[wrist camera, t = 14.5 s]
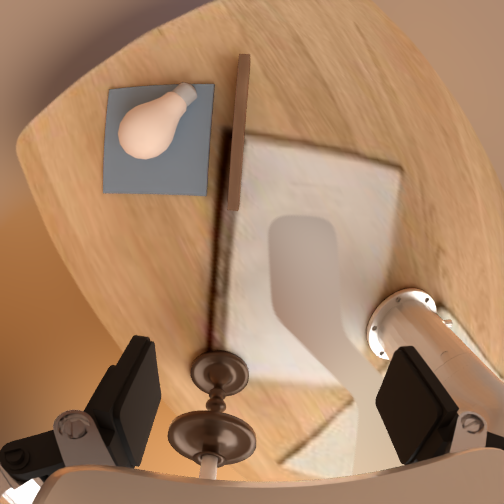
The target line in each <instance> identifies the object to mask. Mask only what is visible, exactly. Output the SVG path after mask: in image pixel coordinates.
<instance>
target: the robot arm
mask: <svg viewBox="0 0 504 504" xmlns="http://www.w3.org/2000/svg"><path fill="white" fill-rule="evenodd" d="M451 327H452V321H451V320H442V319H441V318H440V317H439V316H438V315H437V309H436V305H435V302H434V300H433V299H432V298H431V296H430V295H428V294H427V293H426V292H424V291H423V290H420V289H416V288H408V289H403V290H400V291H398V292H396V293H394V294H392V295H390V296H389V297H388V298H386V299H385V300H384V301H383V302H382V303H381V304H380V305H379V306H378V307H377V309H376V310H375V311H374V313H373V315H372V317H371V318H370V321H369V324H368V327H367V341H368V344H369V346H370V348H371V350H372V351H373V352H374V354H375V355H377V356H378V357H380V358H383V359H389V360H390V361H391V362H390V365H389V367H388V370H387V372H386V375H385V377H384V380H383V383H382V385H381V387H380V390H379V392H378V394H377V397H376V407H377V409H378V411H379V413H380V415H381V418H382V420H383V422H384V425H385V427H386V429H387V431H388V434H389V436H390V438H391V441H392V443H393V445H394V448H395V450H396V452H397V455H398V457H399V460H400V462H401V463H402V464H404V466H400V467H395V468H391V469H386V470H381V471H376V472H370V473H365V474H358V475H352V476H345V477H337V478H328V479H318V480H305V481H284V482H246V481H225V480H212V479H202V478H193V477H184V476H177V475H170V474H163V473H157V472H152V471H145V470H139V469H134V467H135V466H138V467H139V466H140V464H141V460H142V457H143V454H144V451H145V447H146V444H147V441H148V438H149V435H150V431H151V428H152V425H153V422H154V419H155V416H156V413H157V409H158V406H159V403H160V400H161V389H160V383H159V376H158V368H157V360H156V352H155V344H154V342H152V341H150V339H149V337H144V336H137V335H134V336H133V337H132V339H131V341H130V342H129V344H128V346H127V347H126V349H125V351H124V353H123V354H122V356H121V358H120V360H119V361H118V363H117V365H116V366H115V365H111V366H110V367H109V368H108V370H107V372H106V373H105V375H104V377H103V378H102V380H101V382H100V383H99V385H98V387H97V389H96V390H95V392H94V394H93V396H92V397H91V399H90V401H89V403H88V404H87V406H86V408H85V410H84V411H80V410H69V411H66V412H63V413H62V414H60V415H59V416H58V417H57V418H56V419H55V421H54V425H53V428H54V430H51V431H48V432H45V433H41V434H38V435H34V436H31V437H27V438H23V439H19V440H16V441H12V442H10V443H7V444H6V445H4V446H3V447H2V449H1V450H0V504H504V383H503V382H502V381H501V380H500V379H499V378H498V377H497V376H496V375H495V374H494V373H493V372H492V371H491V370H490V369H489V368H488V367H487V366H486V365H485V364H484V363H483V362H482V361H481V360H480V359H479V358H478V357H477V356H476V355H475V354H474V353H473V352H472V351H471V350H470V349H469V348H468V347H467V346H466V345H465V344H464V343H463V342H462V341H461V340H460V339H459V338H458V337H457V336H456V335H455V334H454V333H453V332H452V331H451V330H450V329H449V328H451Z"/></svg>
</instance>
